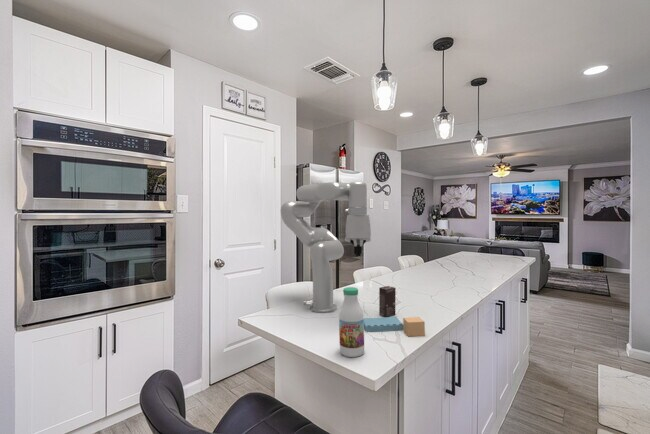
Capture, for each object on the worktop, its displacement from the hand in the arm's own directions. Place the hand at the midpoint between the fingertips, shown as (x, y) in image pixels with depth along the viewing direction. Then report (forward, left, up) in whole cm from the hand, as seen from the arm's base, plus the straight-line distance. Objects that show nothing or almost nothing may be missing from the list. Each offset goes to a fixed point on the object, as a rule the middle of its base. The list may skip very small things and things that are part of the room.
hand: (357, 255), depth 122 cm
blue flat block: (+7, -10, -27) cm, 29 cm away
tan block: (+17, -18, -27) cm, 36 cm away
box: (+13, +3, -27) cm, 30 cm away
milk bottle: (-8, -30, -27) cm, 41 cm away
